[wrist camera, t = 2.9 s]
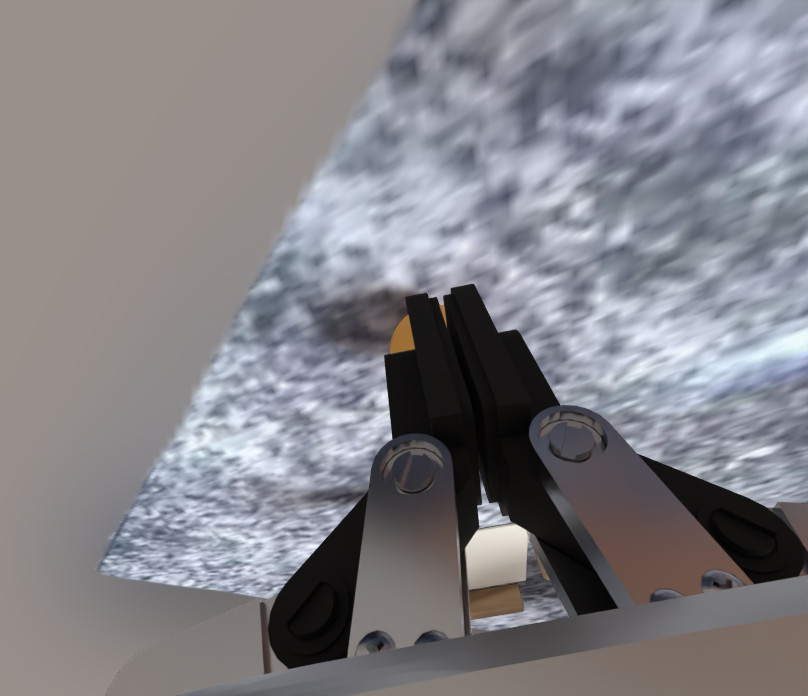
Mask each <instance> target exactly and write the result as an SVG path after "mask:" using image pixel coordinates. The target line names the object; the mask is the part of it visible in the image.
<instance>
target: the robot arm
mask: <svg viewBox="0 0 808 696" xmlns="http://www.w3.org/2000/svg"><path fill="white" fill-rule="evenodd" d="M405 299H406V304H407V310H408V315H409V320H410V325H411V331H412V336H413V341H414V346H415V349H413V350H407V351H402V352H397V353H392V354H387V355H384V360H385V370H386V380H387V390H388V399H389V409H390V419H391V429H392V439H393V440H391V441H389V442H388V443H387V444H386V445H384V446H383V447H382V448H381V449H380V450H379V452H378V453H377V455H376V456H375V458H374V461H373V464H372V468H371V475H370V483H369V490H368V492H367V493H366V494H365V496H364V497H363V498H362V499H361V500H360V501H359V502H358V503H357V505H356V506H355V507H354V508H353V509H352V510H351V511H350V512H349V513H348V515H347V516H346V517H345V518H344V519H343V520H342V521H341V522H340V524H339V525H338V526H337V527H336V528H335V529H334V530H333V531H332V532H331V534H330V535H329V536H328V537H327V538H326V539H325V540H324V541H323V543H322V544H321V545H320V546H319V547H318V548H317V549H316V550H315V551H314V553H313V554H312V555H311V556H310V557H309V558H308V559H307V560H306V562H305V563H304V564H303V565H302V566H301V567H300V568H299V569H298V570H297V572H296V573H295V574H294V575H293V576H292V577H291V578H290V579H289V581H288V582H287V583H286V584H285V586H284V587H283V588H282V590H281V591H280V593H279V594H278V595H277V596H274V597H272V598H270V599H268V600H266V601H262V600H261V599H260V598H257V599H255V600H252V601H250V602H248V603H245V604H243V605H241V606H239V607H236V608H234V609H232V610H229V611H227V612H225V613H223V614H221V615H218V616H216V617H214V618H211V619H209V620H207V621H204V622H202V623H200V624H198V625H195V626H193V627H191V628H188V629H186V630H184V631H182V632H179V633H177V634H175V635H173V636H170V637H168V638H166V639H163V640H161V641H159V642H156V643H154V644H152V645H150V646H148V647H146V648H145V649H143V650H142V651H140V652H138V653H137V654H135V655H134V656H133V657H132V658H131V659H130V660H129V661H128V662H127V663H126V664H125V665H124V666H123V667H122V668H121V669H120V670H119V672H118V674H117V675H116V677H115V678H114V680H113V682H112V683H111V685H110V686H109V688H108V689H107V692H106V695H105V696H808V503H789V502H777V504H776V505H775V507H774V508H767V507H765V506H763V505H761V504H759V503H757V502H755V501H753V500H751V499H749V498H747V497H744V496H742V495H739V494H737V493H734V492H732V491H729V490H727V489H724V488H722V487H719V486H717V485H714V484H712V483H709V482H707V481H704V480H702V479H699V478H697V477H694V476H692V475H689V474H687V473H684V472H682V471H679V470H677V469H674V468H672V467H669V466H667V465H664V464H662V463H659V462H657V461H654V460H652V459H649V458H647V457H644V456H642V455H639V454H637V453H636V452H635V451H634V450H633V449H632V447H631V446H630V445H629V444H628V443H627V442H626V441H625V440H624V439H623V437H622V436H621V435H620V434H619V433H618V432H617V431H616V430H615V429H614V427H613V426H612V425H611V424H610V423H609V422H608V421H607V420H605V419H604V418H603V417H602V416H601V415H599V414H597V413H595V412H593V411H591V410H589V409H586V408H583V407H579V406H573V405H560V404H559V402H558V400H557V398H556V397H555V395H554V393H553V391H552V389H551V388H550V386H549V384H548V382H547V381H546V379H545V377H544V375H543V373H542V372H541V370H540V368H539V366H538V365H537V363H536V361H535V359H534V358H533V356H532V354H531V352H530V350H529V349H528V347H527V345H526V343H525V342H524V340H523V338H522V336H521V334H520V333H519V332H518V331H517V330H510V331H505V332H500V333H498V332H497V330H496V328H495V326H494V324H493V321H492V319H491V317H490V315H489V313H488V311H487V309H486V307H485V305H484V303H483V301H482V299H481V297H480V295H479V293H478V291H477V289H476V287H475V285H474V284H469V285H464V286H459V287H454V288H451V294H449V295H444V296H443V299H444V308H445V316H446V323H445V320H444V317H443V314H442V311H441V308H440V305H439V302H438V299H437V297H434V298H428V294H427V293H424V294H418V295H413V296H408V297H405ZM446 324H447V326H446ZM479 471H480V474H481V478H482V481H483V485H484V488H485V491H486V495H487V498H488V501H489V503H494V502H498V504H499V507H500V510H501V513H502V516H508V515H509V518H510V521H511V522H513V523H515V524H516V525H518V526H520V527H522V528H523V529H525V530H526V532H527V535H528V537H529V540H530V542H531V544H532V546H533V548H534V550H535V552H536V554H537V556H538V558H539V560H540V562H541V564H542V566H543V567H544V569H545V571H546V573H547V575H548V577H549V579H550V581H551V583H552V585H553V587H554V589H555V591H556V593H557V594H558V596H559V598H560V600H561V602H562V604H563V606H564V608H565V610H566V612H567V614H568V616H569V617H568V618H563V619H557V620H552V621H546V622H540V623H535V624H529V625H524V626H518V627H513V628H507V629H502V630H496V631H491V632H485V633H480V634H475V635H472V627H471V613H470V599H469V584H468V570H467V556H466V546H467V545H468V543H469V542H470V540H471V539H472V537H473V536H474V534H475V533H476V531H477V530H478V528H479V519H478V510H477V506H478V505H482V498H481V486H480V475H479Z"/></svg>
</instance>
